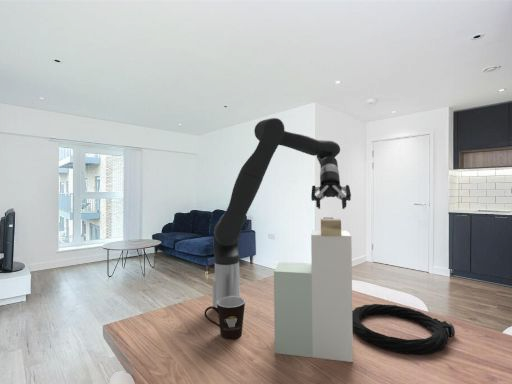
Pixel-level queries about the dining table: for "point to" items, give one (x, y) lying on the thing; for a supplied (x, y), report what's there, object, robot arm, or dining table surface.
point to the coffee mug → (229, 316)
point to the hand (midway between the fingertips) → (331, 207)
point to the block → (330, 227)
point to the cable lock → (397, 344)
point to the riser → (316, 301)
